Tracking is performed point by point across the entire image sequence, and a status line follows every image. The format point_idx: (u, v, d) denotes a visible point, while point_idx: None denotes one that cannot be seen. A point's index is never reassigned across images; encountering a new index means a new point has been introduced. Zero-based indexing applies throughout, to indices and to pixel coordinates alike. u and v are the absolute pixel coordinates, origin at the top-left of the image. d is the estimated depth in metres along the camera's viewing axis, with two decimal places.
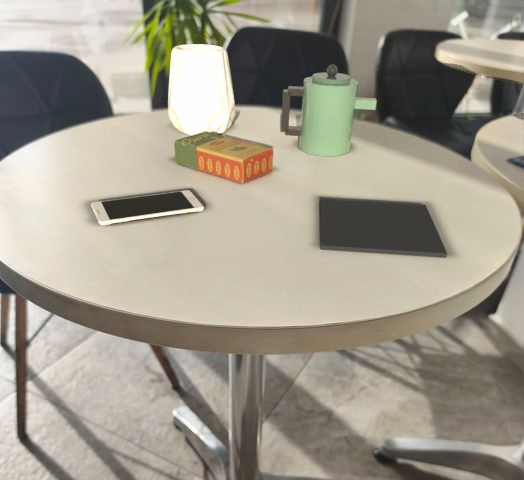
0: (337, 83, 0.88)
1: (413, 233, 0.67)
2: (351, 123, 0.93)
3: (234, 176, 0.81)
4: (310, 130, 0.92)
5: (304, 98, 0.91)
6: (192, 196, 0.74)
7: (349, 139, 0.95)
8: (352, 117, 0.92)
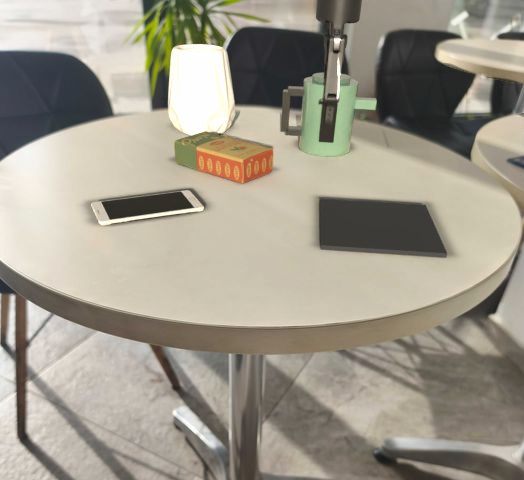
0: None
1: (413, 233, 0.67)
2: (351, 123, 0.93)
3: (234, 176, 0.81)
4: (310, 130, 0.92)
5: (304, 98, 0.91)
6: (192, 196, 0.74)
7: (349, 139, 0.95)
8: (352, 117, 0.92)
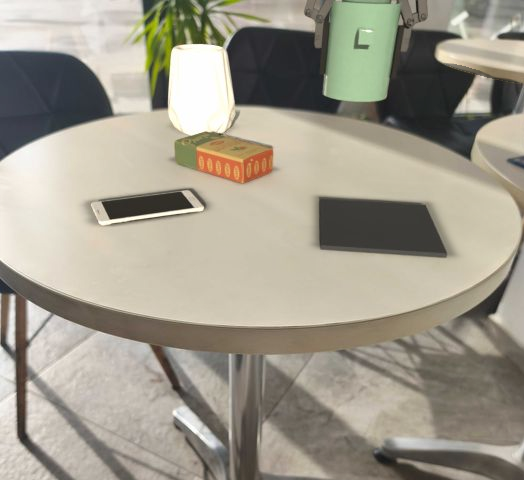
0: None
1: (413, 233, 0.67)
2: (346, 59, 0.71)
3: (234, 176, 0.81)
4: None
5: None
6: (192, 196, 0.74)
7: (344, 81, 0.72)
8: (348, 50, 0.70)
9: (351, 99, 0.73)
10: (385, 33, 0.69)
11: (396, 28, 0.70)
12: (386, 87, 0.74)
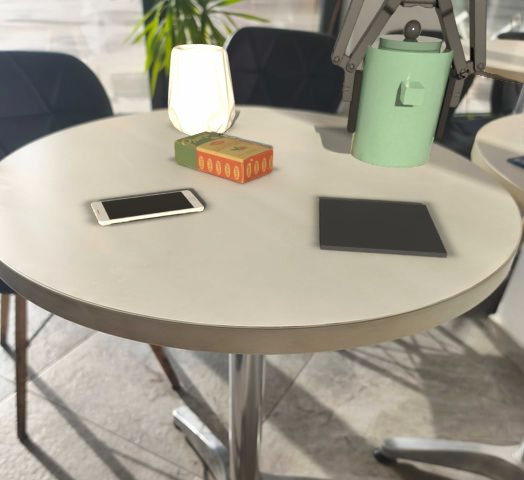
0: (381, 44, 0.55)
1: (413, 233, 0.67)
2: (384, 117, 0.57)
3: (235, 176, 0.81)
4: None
5: None
6: (192, 196, 0.74)
7: (380, 144, 0.59)
8: (387, 108, 0.56)
9: (388, 164, 0.60)
10: (434, 88, 0.55)
11: (446, 80, 0.56)
12: (430, 149, 0.61)
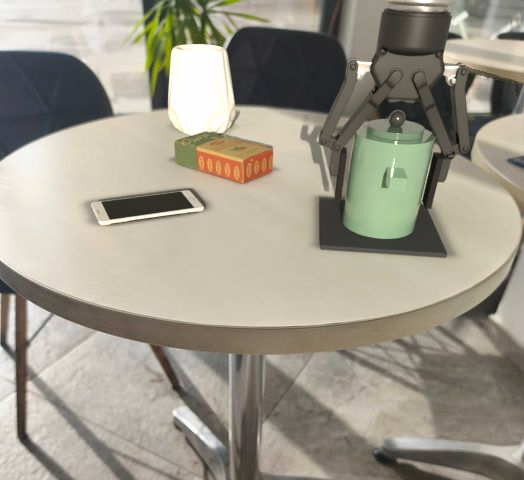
0: (368, 131, 0.61)
1: (413, 233, 0.67)
2: (372, 196, 0.62)
3: (235, 176, 0.81)
4: None
5: None
6: (192, 196, 0.74)
7: (369, 218, 0.64)
8: (374, 189, 0.62)
9: (376, 236, 0.65)
10: (417, 172, 0.60)
11: (428, 163, 0.62)
12: (415, 220, 0.66)
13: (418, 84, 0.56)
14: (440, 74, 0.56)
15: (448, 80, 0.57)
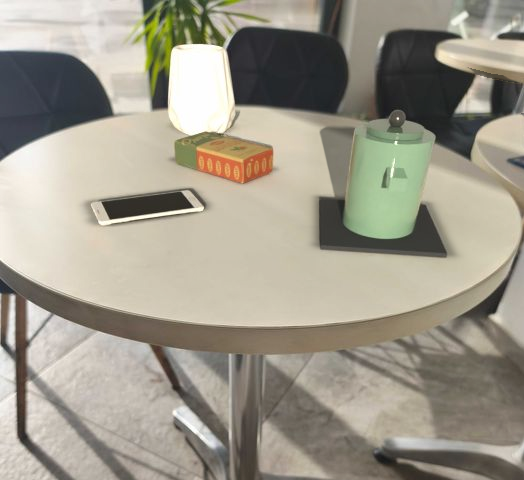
0: (368, 131, 0.61)
1: (413, 233, 0.67)
2: (372, 196, 0.62)
3: (235, 176, 0.81)
4: None
5: None
6: (192, 196, 0.74)
7: (369, 218, 0.64)
8: (374, 189, 0.62)
9: (376, 236, 0.65)
10: (417, 172, 0.60)
11: (428, 163, 0.62)
12: (415, 220, 0.66)
13: None
14: None
15: None
